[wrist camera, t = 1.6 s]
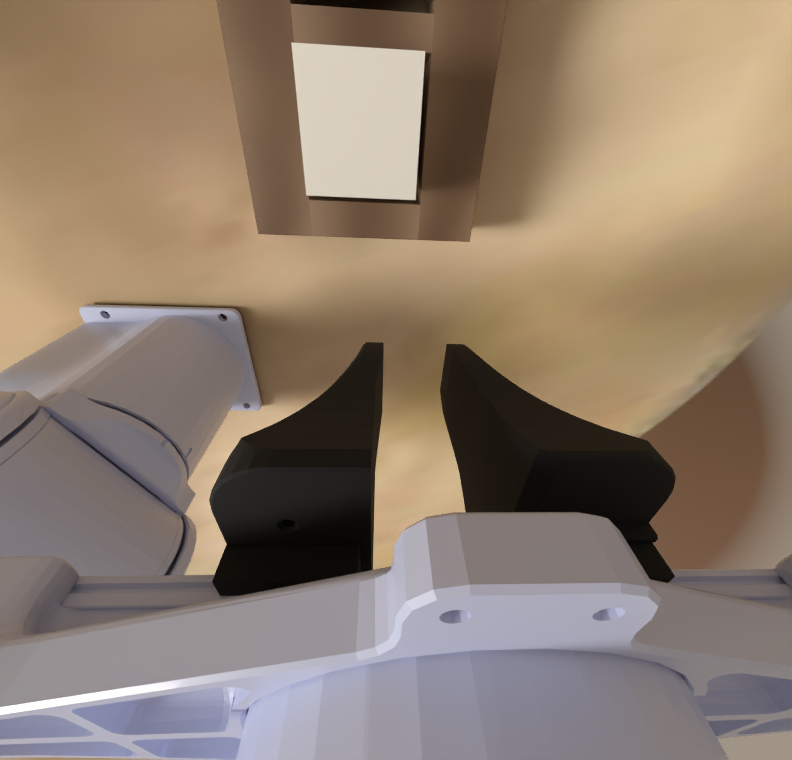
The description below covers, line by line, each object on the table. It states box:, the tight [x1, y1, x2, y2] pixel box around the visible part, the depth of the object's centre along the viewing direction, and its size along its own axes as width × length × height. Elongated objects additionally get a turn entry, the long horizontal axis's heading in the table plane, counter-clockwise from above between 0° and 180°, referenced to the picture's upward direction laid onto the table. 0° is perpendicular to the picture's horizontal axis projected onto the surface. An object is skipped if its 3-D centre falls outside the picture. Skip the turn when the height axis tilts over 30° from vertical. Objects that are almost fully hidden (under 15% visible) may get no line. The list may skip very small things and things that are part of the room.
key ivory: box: [291, 42, 425, 200], centre depth 13 cm, size 4×4×4 cm
